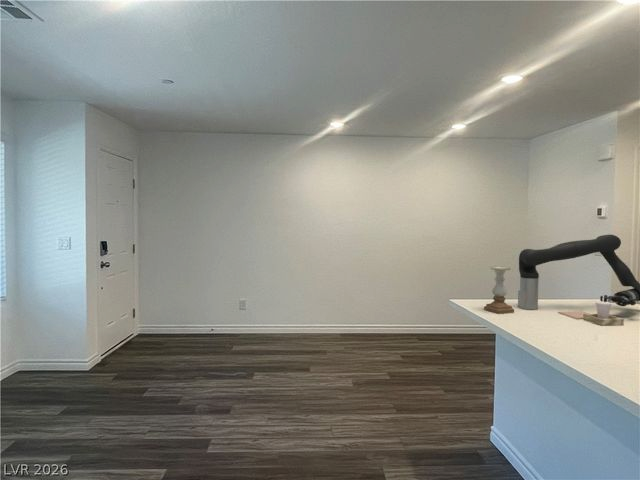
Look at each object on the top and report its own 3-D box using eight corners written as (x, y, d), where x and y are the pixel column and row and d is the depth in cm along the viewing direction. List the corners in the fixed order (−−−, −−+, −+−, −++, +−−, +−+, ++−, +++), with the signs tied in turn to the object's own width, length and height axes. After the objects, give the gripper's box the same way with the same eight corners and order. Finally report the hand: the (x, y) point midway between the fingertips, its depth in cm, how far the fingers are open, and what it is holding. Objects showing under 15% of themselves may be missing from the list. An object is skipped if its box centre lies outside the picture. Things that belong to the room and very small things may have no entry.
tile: (576, 319, 202) (576, 317, 202) (557, 313, 216) (557, 311, 216) (602, 318, 204) (602, 317, 204) (581, 312, 218) (581, 311, 218)
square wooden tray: (601, 325, 190) (601, 319, 190) (583, 319, 201) (583, 313, 201) (623, 325, 191) (623, 319, 191) (604, 319, 203) (604, 313, 202)
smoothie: (608, 321, 198) (609, 293, 198) (612, 324, 192) (614, 295, 192) (592, 320, 200) (594, 292, 200) (597, 323, 194) (598, 294, 194)
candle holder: (499, 308, 227) (500, 266, 226) (514, 312, 217) (515, 268, 216) (483, 309, 224) (484, 266, 223) (498, 314, 213) (499, 268, 212)
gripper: (609, 289, 218) (596, 292, 208) (641, 292, 206) (630, 296, 197) (608, 303, 218) (596, 306, 208) (641, 307, 206) (629, 311, 197)
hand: (612, 301), depth 203 cm, fingers open, 8 cm apart
